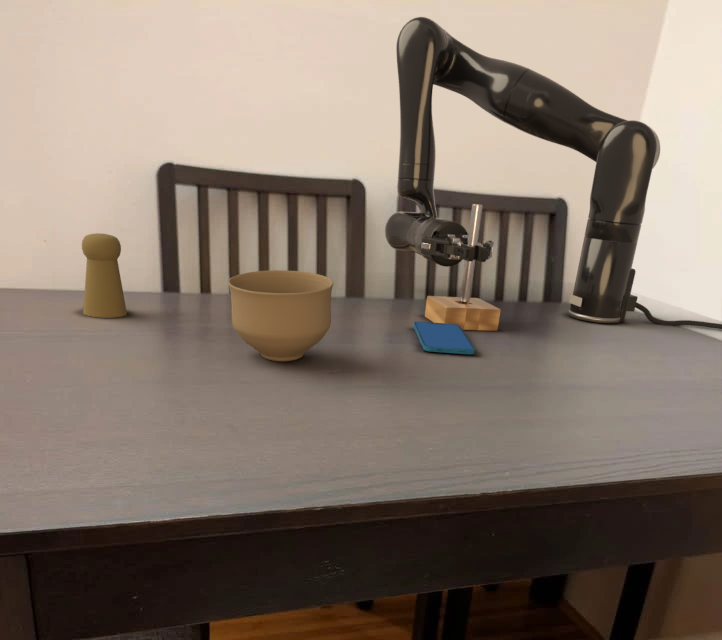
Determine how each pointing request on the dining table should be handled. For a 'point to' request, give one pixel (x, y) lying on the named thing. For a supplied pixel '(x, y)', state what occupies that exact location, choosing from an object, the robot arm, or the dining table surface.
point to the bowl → (281, 311)
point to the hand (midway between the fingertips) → (478, 254)
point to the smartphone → (443, 338)
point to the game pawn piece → (103, 277)
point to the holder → (463, 313)
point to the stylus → (473, 241)
